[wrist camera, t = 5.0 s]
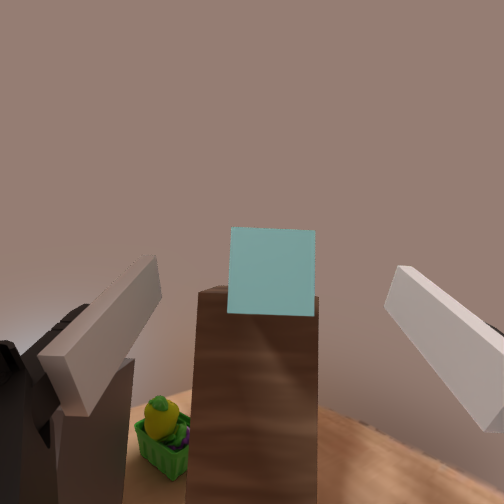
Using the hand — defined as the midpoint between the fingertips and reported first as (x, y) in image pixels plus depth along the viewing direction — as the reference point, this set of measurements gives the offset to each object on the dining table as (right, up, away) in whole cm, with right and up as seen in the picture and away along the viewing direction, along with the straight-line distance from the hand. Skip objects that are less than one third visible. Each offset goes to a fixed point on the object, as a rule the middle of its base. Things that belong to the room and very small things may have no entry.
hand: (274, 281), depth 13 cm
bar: (-1, -2, +9) cm, 10 cm away
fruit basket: (-16, -34, +26) cm, 46 cm away
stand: (-2, -32, +10) cm, 34 cm away
